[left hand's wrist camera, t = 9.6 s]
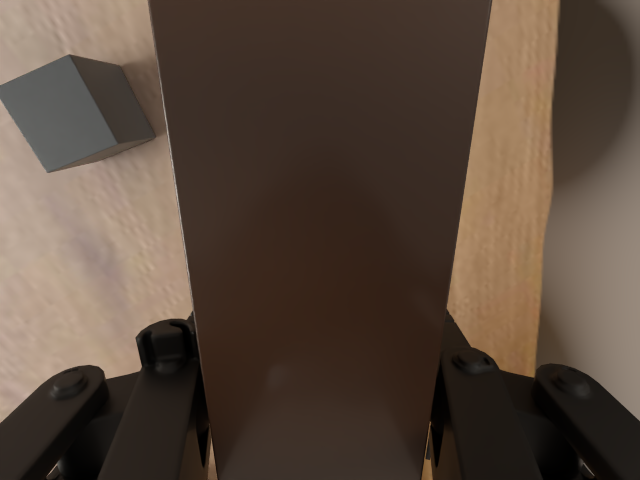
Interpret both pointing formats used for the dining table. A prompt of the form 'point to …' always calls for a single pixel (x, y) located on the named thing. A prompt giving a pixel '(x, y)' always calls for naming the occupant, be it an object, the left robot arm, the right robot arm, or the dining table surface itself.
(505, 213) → the dining table surface
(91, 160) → the grey cube
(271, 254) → the walnut block
